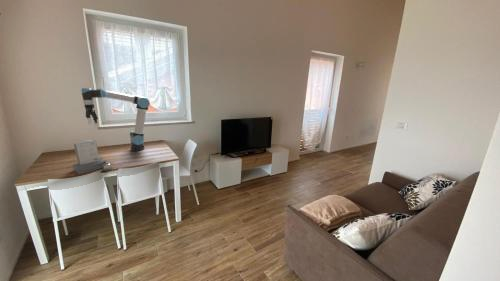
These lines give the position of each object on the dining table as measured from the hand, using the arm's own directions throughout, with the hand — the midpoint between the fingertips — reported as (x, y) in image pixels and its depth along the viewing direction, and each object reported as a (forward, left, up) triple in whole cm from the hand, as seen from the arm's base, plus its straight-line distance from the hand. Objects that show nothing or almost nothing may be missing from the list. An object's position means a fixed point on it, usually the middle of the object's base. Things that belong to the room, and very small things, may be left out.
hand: (93, 125), depth 209 cm
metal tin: (+6, +35, -36) cm, 51 cm away
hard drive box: (+15, +19, -30) cm, 39 cm away
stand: (+15, +21, -36) cm, 44 cm away
